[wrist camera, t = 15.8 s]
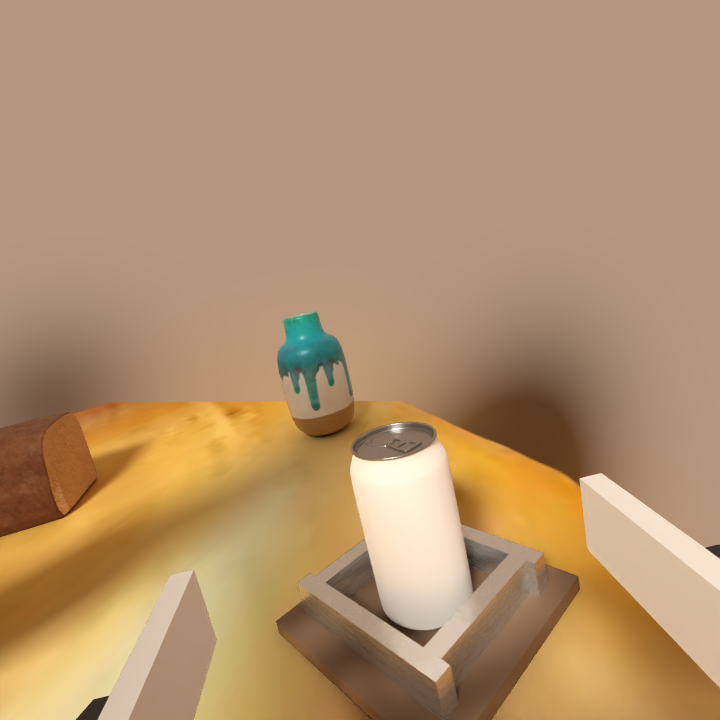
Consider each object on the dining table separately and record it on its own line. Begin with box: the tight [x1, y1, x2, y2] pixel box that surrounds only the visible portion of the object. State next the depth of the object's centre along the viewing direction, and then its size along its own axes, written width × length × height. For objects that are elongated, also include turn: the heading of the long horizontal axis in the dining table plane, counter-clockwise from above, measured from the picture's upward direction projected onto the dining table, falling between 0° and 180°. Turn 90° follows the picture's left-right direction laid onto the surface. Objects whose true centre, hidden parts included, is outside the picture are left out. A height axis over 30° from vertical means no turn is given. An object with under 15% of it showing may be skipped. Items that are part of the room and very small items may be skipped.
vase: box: [277, 312, 354, 436], centre depth 69 cm, size 11×11×19 cm
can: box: [350, 422, 473, 631], centre depth 30 cm, size 6×6×12 cm
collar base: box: [276, 564, 580, 720], centre depth 31 cm, size 15×15×1 cm
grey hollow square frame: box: [297, 524, 548, 720], centre depth 30 cm, size 13×11×2 cm
